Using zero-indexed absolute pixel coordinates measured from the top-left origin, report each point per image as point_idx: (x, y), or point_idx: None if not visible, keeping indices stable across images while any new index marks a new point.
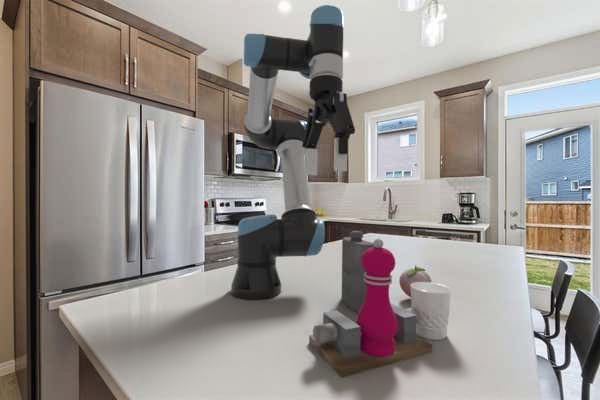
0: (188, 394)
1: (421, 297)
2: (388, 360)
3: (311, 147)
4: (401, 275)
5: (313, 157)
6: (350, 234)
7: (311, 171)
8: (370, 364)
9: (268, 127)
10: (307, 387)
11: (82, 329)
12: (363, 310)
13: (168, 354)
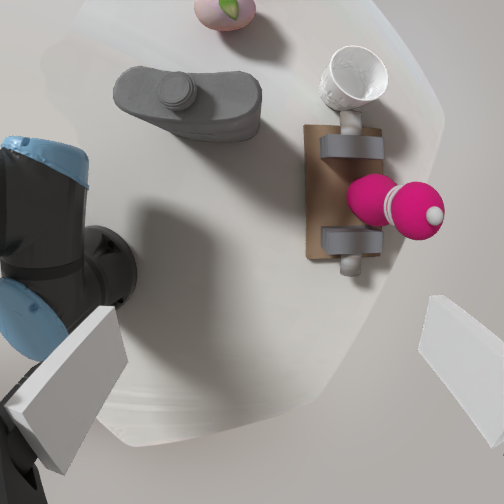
0: (335, 370)
1: (367, 102)
2: None
3: (20, 451)
4: (210, 18)
5: (71, 396)
6: (173, 109)
7: (115, 351)
8: None
9: None
10: (373, 288)
11: (190, 437)
12: (382, 223)
13: (268, 386)
